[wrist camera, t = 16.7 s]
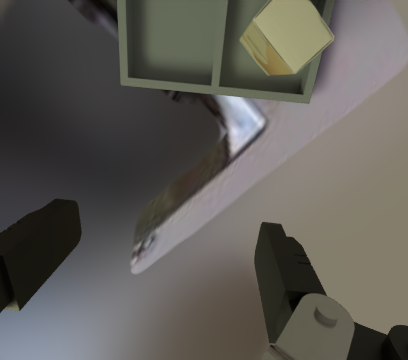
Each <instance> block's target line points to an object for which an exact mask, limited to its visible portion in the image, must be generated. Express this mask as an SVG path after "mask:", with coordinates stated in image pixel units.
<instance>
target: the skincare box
mask: <svg viewBox="0 0 408 360" xmlns="http://www.w3.org/2000/svg"><path fill="white" fill-rule="evenodd" d="M239 41H240V42H241V44H242V45H243V46H244V48H245V49H246V50H247V52H248V53H249V54H250V56H251V57H252V58H253V59H254V61H255V62H256V63H257V64H258V65H259V66H260V68H261V69H262V70H263V71H264V72H265V73H266V75H268V76H270V75H287V74H296V73H297V72H298V71H300V70H301V69H302V68H303V67H304V66H305V65H307V64H308V63H309V62H310V61H311V60H313V59H314V58H315V57H316V56H317V55H318V54H319V53H320V52H322V51H323V50H324V49H325V48H326V47H327V46H328V45H329V44H330V43H332V42H333V41H334V35H333V34H332V32H331V31H330V29H329V28H328V26H327V25H326V23H325V22H324V20H323V19H322V17H321V16H320V14H319V12H318V11H317V9H316V8H315V6H314V5H313V4H312V2H311V1H310V0H269V1H268V2H267V3H266V4H265V5H264V6H263V7H262V9H261V10H260V11H259V12H258V13H257V14H256V16H255V17H254V18H253V19H252V21H251V22H250V24H249V25H248V27H247V28H246V30H245V31H244V33H243V34H242V36H241V38H240V39H239Z"/></svg>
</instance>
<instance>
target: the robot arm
mask: <svg viewBox="0 0 408 360" xmlns="http://www.w3.org/2000/svg"><path fill="white" fill-rule="evenodd" d="M80 238H81V223H80V216H79V208H78V204H77V202H76V201H73V200H64V199H54V200H53V201H51V202H50V203H49V204H47V205H46V206H44V207H43V208H41V209H39V210H37V211H34V212H32V213H29V214H27V215H26V216H24V217H23V218H21V219H20V220H18V221H17V223H14V224H13V225H11V226H10V227H8V228H7V230H4V231H2V232H1V233H0V313H1V311H2V310H3V309H7V310H15V311H20V310H21V309H22V308H23V307H24V305H25V304H26V303H27V302H28V301H29V300H30V299H31V297H32V296H33V295H34V294H35V293H36V292H37V291H38V289H39V288H40V287H41V286H42V285H43V284H44V283H45V281H46V280H47V279H48V278H49V277H50V276H51V275H52V273H53V272H54V271H55V270H56V269H57V268H58V267H59V265H60V264H61V263H62V262H63V261H64V260H65V259H66V257H67V256H68V255H69V254H70V253H71V252H72V251H73V249H74V248H75V247H76V246H77V245H78V243H79V241H80ZM254 263H255V270H256V275H257V280H258V286H259V291H260V296H261V302H262V307H263V312H264V317H265V323H266V328H267V333H268V339H269V343H275V345H274V346H273V345H270V347H269V348H268V349H267V351H266V352H265V354H264V355H263V357H262V359H261V360H408V326H405V325H396V326H394V327H392V328H391V330H390V331H389V333H388V335H386V334H383V333H381V332H378V331H375V330H373V329H370V328H368V327H365V326H362V325H360V324H358V323H355V322H354V321H353V319H352V317H351V316H350V314H349V313H348V311H347V310H346V309H345V308H344V307H343V306H342V305H341V304H339V303H338V302H337V301H335V300H333V299H332V298H330V297H327V295H326V293H325V291H324V289H323V287H322V285H321V283H320V281H319V279H318V277H317V275H316V273H315V271H314V269H313V267H312V266H311V263H310V261H309V259H308V257H307V255H306V253H305V251H304V249H303V247H302V245H301V244H299V243H298V242H297V241H296V240H295V239H294V238H293V237H286V234H285V232H284V230H283V227H282V225H281V224H276V223H268V222H262V224H261V227H260V231H259V236H258V241H257V245H256V250H255V258H254Z"/></svg>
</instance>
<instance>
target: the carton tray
mask: <svg viewBox="0 0 408 360" xmlns="http://www.w3.org/2000/svg"><path fill="white" fill-rule="evenodd" d="M268 1H269V0H117V8H118V31H119V53H120V76H121V85H125V86H136V87H145V88H156V89H166V90H176V91H186V92H196V93H206V94H216V95H226V96H236V97H246V98H256V99H266V100H276V101H286V102H297V103H307V104H309V103H310V99H311V95H312V91H313V87H314V83H315V79H316V75H317V71H318V67H319V63H320V59H321V55H322V52H320V53H319V54H318V55H317V56H316V57H315V58H314V59H313V60H311V61H310V62H309V63H308V64H307V65H305V66H304V67H303V68H302V69H301V70H300V71H298V72H297V73H296V74H287V75H270V76H268V75H266V73H265V72H264V71H263V70H262V69H261V68H260V66H259V65H258V64H257V63H256V62H255V61H254V59H253V58H252V57H251V56H250V54H249V53H248V52H247V50H246V49H245V48H244V46H243V45H242V44H241V42H240V41H239V39H240V38H241V36H242V34H243V33H244V31H245V30H246V28H247V27H248V25H249V24H250V22H251V21H252V19H253V18H254V17H255V16H256V14H257V13H258V12H259V11H260V10H261V9H262V7H263V6H264V5H265V4H266V3H267V2H268ZM310 1H311V2H312V4H313V5H314V6H315V8H316V9H317V11H318V12H319V14H320V16H321V17H322V19H323V20H324V22H325V23H326V25H327V26H328V27H329V23H330V19H331V15H332V11H333V7H334V3H335V0H310Z"/></svg>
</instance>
